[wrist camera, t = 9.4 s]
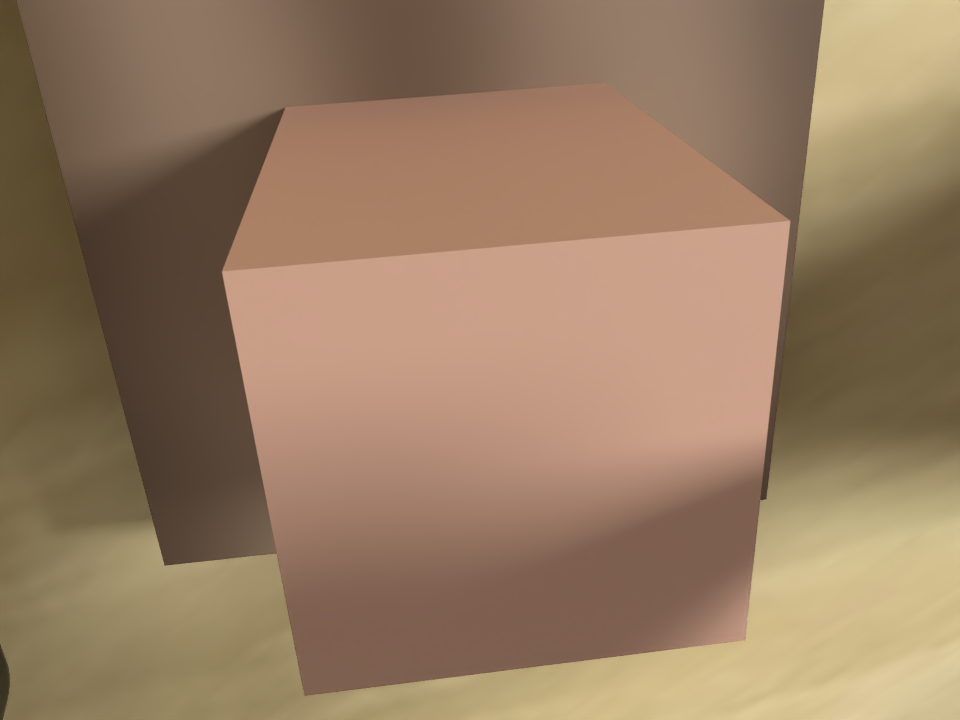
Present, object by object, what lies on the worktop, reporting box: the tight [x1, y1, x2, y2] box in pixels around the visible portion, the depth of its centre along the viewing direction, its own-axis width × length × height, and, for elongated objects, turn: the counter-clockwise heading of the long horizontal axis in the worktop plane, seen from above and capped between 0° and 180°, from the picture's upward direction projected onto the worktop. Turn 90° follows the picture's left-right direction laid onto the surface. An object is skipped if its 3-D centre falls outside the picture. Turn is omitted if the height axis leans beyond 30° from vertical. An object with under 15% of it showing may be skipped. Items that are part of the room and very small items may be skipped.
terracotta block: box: [222, 83, 790, 696], centre depth 12 cm, size 5×5×7 cm
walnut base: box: [16, 0, 824, 565], centre depth 17 cm, size 12×12×3 cm
